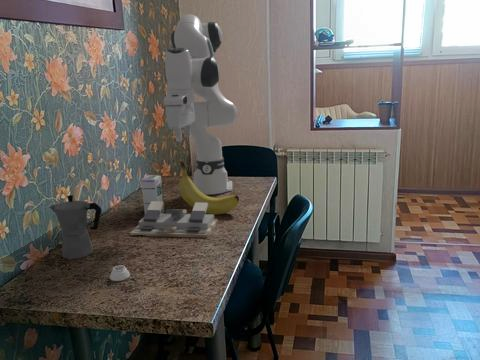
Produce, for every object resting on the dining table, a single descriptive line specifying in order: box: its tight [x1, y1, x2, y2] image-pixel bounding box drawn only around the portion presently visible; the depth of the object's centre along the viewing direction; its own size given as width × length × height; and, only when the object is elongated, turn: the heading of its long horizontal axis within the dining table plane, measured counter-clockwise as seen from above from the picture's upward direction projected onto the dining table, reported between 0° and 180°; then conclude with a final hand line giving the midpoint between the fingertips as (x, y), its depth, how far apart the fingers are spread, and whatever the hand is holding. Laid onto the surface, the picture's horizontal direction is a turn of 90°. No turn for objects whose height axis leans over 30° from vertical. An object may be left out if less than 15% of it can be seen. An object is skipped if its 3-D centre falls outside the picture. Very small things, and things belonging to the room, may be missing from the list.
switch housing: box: [138, 212, 215, 229], centre depth 149 cm, size 9×24×2 cm, turn 80°
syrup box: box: [140, 174, 166, 215], centre depth 162 cm, size 6×6×14 cm
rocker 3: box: [189, 202, 208, 222], centre depth 147 cm, size 9×4×2 cm, turn 170°
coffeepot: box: [49, 194, 103, 260], centre depth 128 cm, size 15×9×18 cm, turn 85°
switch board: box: [129, 218, 219, 239], centre depth 147 cm, size 15×26×2 cm, turn 80°
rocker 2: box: [165, 208, 188, 217], centre depth 148 cm, size 9×4×2 cm, turn 170°
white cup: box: [109, 264, 131, 282], centre depth 113 cm, size 5×3×5 cm
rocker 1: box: [142, 200, 165, 222], centre depth 150 cm, size 9×4×2 cm, turn 170°
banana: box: [178, 160, 240, 215], centre depth 159 cm, size 23×6×20 cm, turn 78°
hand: (183, 139), depth 149 cm, fingers open, 8 cm apart
